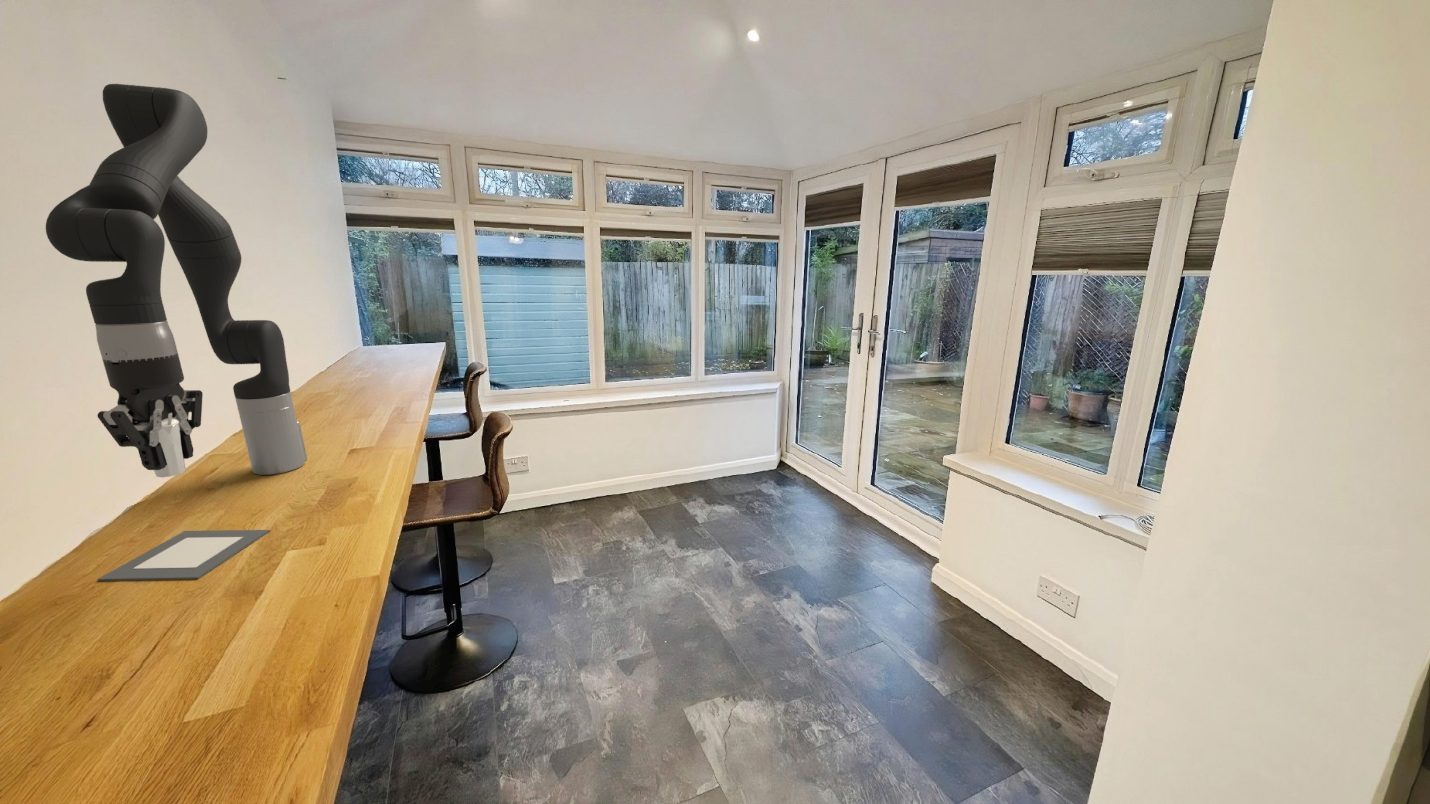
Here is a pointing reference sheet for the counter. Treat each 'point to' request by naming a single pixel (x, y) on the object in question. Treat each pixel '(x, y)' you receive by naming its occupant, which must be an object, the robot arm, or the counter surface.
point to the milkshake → (169, 447)
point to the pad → (186, 555)
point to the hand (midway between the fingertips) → (170, 462)
